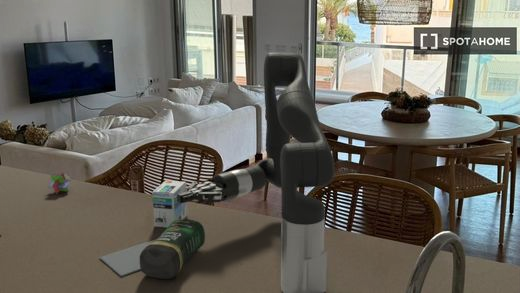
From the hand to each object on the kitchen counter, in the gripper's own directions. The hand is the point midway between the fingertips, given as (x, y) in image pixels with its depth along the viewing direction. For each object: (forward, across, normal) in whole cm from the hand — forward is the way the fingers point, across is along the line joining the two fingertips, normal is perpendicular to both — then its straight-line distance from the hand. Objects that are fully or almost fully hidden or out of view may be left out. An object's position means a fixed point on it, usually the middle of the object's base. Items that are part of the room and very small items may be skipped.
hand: (178, 199), depth 130 cm
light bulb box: (-7, -16, +13) cm, 22 cm away
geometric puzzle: (+9, -62, +13) cm, 64 cm away
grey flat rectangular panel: (+10, -1, +13) cm, 17 cm away
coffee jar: (-1, +2, +8) cm, 9 cm away
